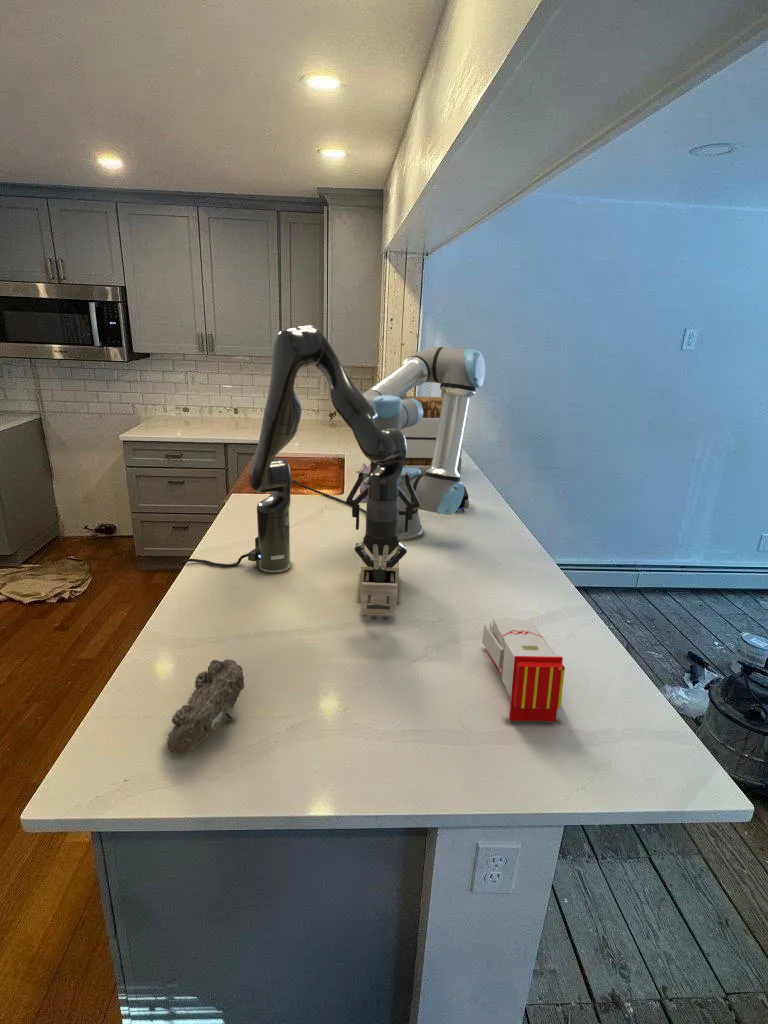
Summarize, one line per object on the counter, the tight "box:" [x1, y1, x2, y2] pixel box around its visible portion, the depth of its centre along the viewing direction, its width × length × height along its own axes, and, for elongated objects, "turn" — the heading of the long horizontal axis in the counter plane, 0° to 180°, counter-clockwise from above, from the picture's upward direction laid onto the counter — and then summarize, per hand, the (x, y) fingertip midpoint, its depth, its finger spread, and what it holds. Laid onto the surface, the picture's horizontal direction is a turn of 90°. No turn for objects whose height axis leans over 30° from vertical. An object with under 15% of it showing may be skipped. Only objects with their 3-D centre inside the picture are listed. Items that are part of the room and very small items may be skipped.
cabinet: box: [359, 546, 400, 604], centre depth 159 cm, size 16×10×10 cm, turn 179°
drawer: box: [360, 570, 397, 616], centre depth 148 cm, size 21×9×8 cm, turn 0°
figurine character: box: [455, 486, 470, 513], centre depth 227 cm, size 7×8×15 cm
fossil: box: [166, 658, 245, 754], centre depth 106 cm, size 22×10×15 cm
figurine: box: [359, 463, 371, 503], centre depth 232 cm, size 9×10×15 cm
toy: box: [481, 618, 566, 722], centre depth 122 cm, size 12×13×30 cm
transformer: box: [400, 391, 464, 476], centre depth 268 cm, size 34×33×41 cm
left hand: (379, 581), depth 138 cm, fingers closed
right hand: (381, 529), depth 158 cm, fingers open, 13 cm apart
